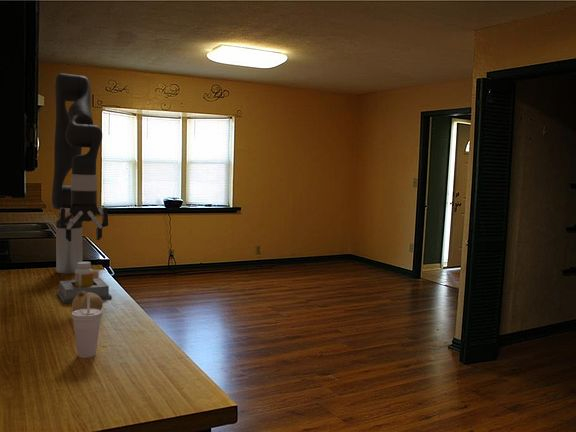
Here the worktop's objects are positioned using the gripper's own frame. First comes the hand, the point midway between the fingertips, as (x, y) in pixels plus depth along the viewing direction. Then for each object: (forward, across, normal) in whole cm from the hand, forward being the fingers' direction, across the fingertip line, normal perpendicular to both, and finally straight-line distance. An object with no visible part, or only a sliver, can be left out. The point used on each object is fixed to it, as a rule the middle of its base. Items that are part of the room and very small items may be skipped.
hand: (83, 240), depth 165 cm
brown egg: (+18, -4, -15) cm, 24 cm away
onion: (+18, +3, +22) cm, 29 cm away
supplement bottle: (+17, 0, 0) cm, 17 cm away
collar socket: (+18, 0, 0) cm, 18 cm away
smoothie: (+17, +9, +54) cm, 58 cm away
